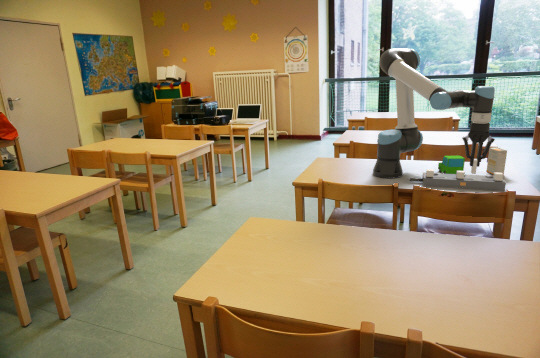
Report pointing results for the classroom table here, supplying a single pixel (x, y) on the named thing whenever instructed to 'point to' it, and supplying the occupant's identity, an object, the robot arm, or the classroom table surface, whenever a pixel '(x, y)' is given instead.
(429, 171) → the slider near arm
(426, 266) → the classroom table surface
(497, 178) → the block
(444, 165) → the toy car
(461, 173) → the slider middle
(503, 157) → the supplement box
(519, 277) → the classroom table surface
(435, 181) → the power strip
